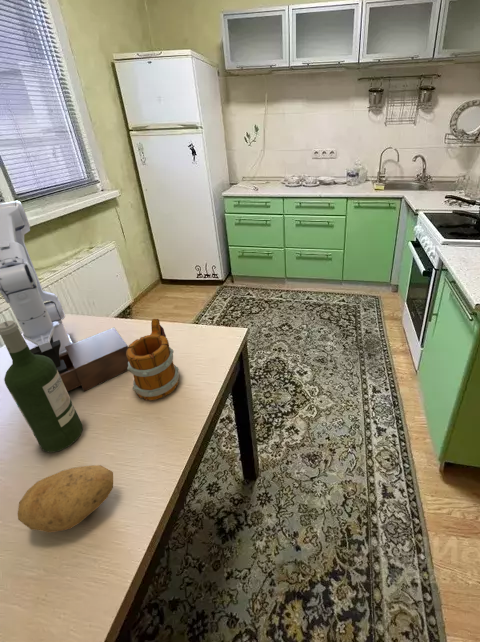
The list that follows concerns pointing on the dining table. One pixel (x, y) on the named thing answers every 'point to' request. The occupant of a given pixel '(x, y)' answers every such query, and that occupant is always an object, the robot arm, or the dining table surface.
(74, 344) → the cabinet
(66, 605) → the dining table surface
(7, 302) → the robot arm
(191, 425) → the dining table surface
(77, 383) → the drawer
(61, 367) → the block
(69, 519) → the potato
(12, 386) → the wine bottle
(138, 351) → the mug
